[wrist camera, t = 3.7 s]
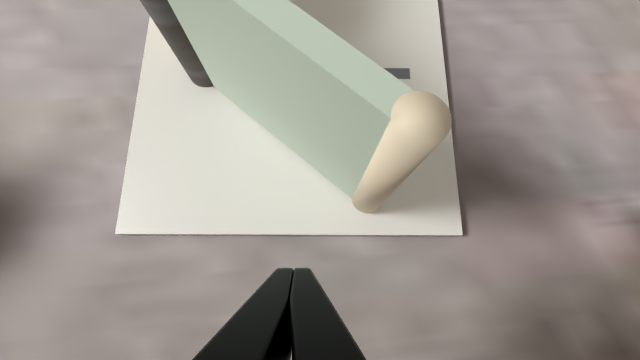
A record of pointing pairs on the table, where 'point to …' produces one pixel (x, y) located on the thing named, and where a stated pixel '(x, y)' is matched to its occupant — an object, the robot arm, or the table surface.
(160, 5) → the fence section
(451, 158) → the board
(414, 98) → the pale green flat panel
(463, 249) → the table surface
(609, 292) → the table surface
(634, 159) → the table surface
